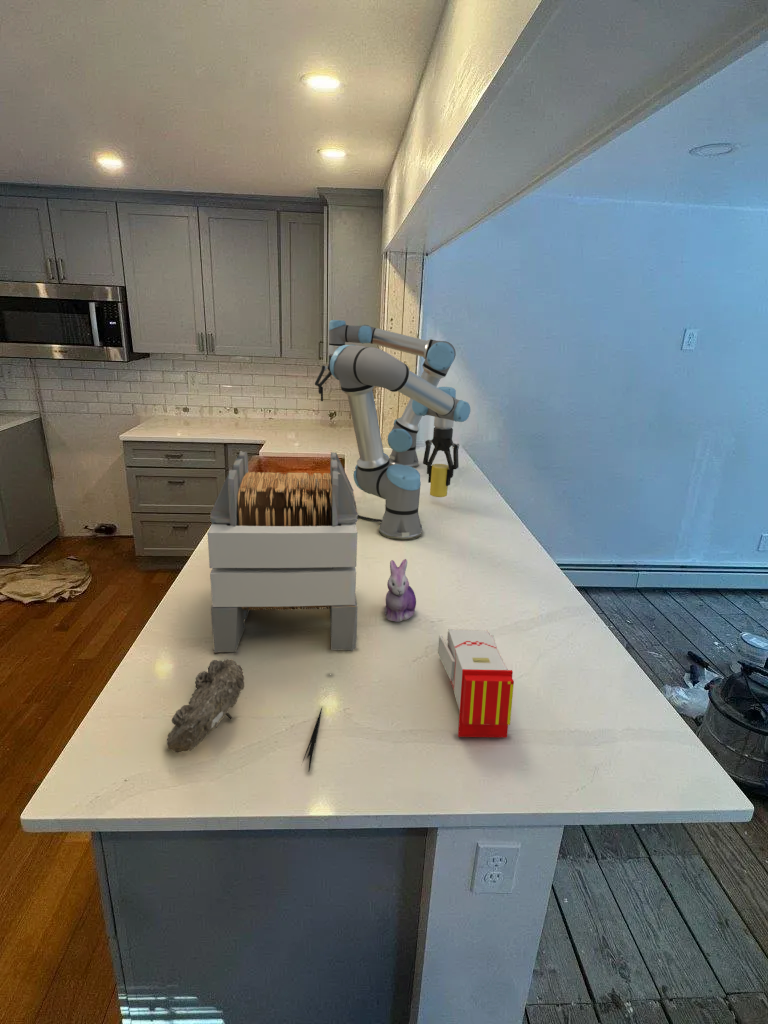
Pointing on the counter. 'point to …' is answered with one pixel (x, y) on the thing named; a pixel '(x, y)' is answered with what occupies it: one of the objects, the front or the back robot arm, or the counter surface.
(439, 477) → the tin
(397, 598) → the figurine
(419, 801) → the counter surface
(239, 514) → the grey record crate
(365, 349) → the front robot arm
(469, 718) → the toy
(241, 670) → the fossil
